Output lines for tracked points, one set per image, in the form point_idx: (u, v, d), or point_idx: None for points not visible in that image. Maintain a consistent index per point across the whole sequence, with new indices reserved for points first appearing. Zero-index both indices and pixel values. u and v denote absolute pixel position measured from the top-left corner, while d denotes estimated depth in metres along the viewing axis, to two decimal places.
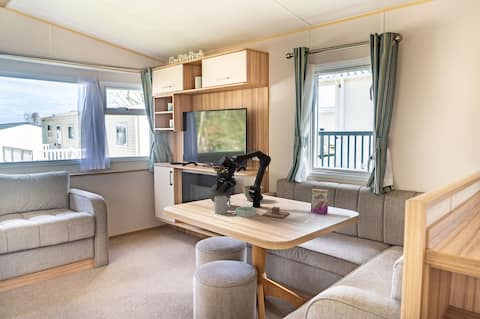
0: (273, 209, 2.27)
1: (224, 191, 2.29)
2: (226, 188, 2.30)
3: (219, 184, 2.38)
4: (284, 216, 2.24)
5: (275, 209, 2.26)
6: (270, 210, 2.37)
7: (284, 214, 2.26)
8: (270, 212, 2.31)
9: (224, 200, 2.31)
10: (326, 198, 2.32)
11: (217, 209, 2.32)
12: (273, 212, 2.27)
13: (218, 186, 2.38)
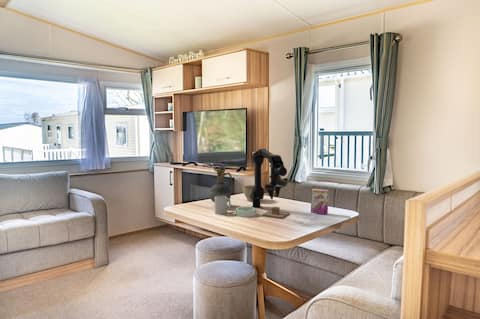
0: (273, 209, 2.27)
1: (277, 195, 2.31)
2: None
3: None
4: (284, 216, 2.24)
5: (275, 209, 2.26)
6: (270, 210, 2.37)
7: (284, 214, 2.26)
8: (270, 212, 2.31)
9: (224, 200, 2.31)
10: (326, 198, 2.32)
11: (217, 209, 2.32)
12: (273, 212, 2.27)
13: None
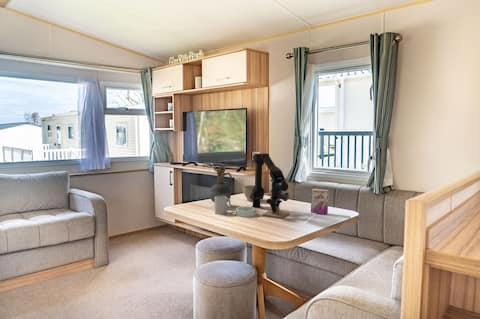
0: None
1: None
2: None
3: None
4: (284, 216, 2.24)
5: None
6: (270, 210, 2.37)
7: (284, 214, 2.26)
8: (270, 212, 2.31)
9: (224, 200, 2.31)
10: (326, 198, 2.32)
11: (217, 209, 2.32)
12: (273, 212, 2.27)
13: None
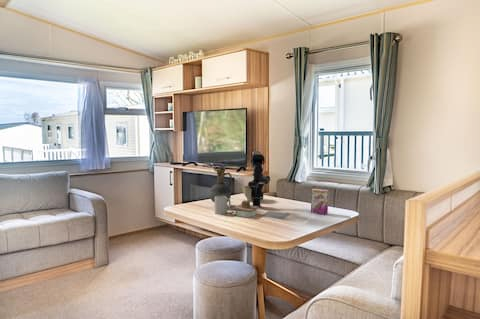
0: (243, 203, 2.28)
1: None
2: None
3: None
4: None
5: (245, 202, 2.27)
6: (241, 204, 2.38)
7: (254, 208, 2.27)
8: (241, 206, 2.32)
9: (224, 200, 2.31)
10: (326, 198, 2.32)
11: (217, 209, 2.32)
12: (243, 206, 2.28)
13: None
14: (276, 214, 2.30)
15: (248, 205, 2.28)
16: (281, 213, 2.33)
